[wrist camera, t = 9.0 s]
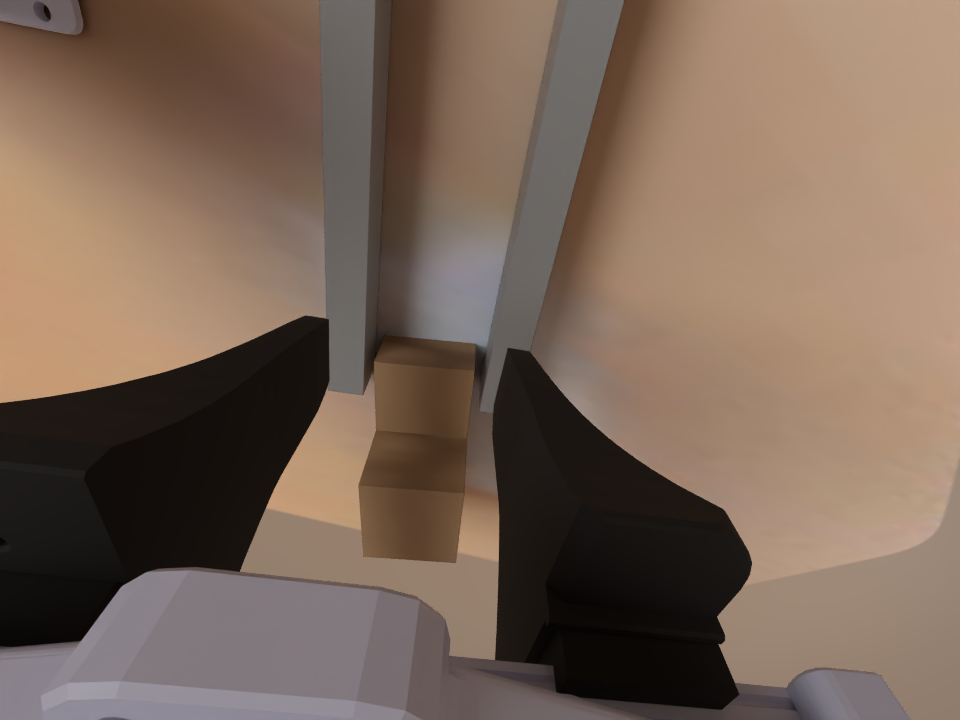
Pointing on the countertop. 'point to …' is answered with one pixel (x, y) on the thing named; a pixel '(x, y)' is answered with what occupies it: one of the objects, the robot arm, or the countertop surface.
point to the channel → (360, 173)
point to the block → (417, 450)
